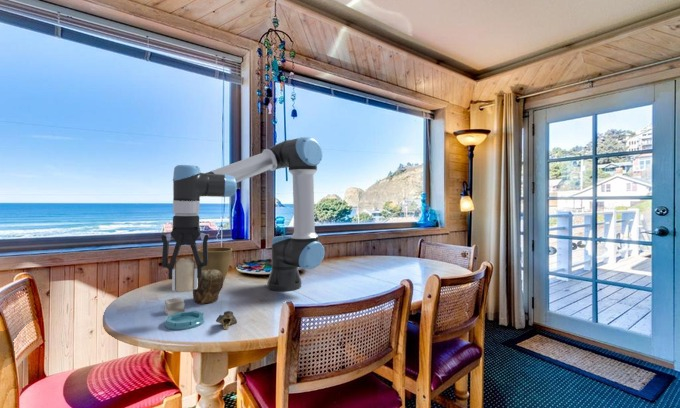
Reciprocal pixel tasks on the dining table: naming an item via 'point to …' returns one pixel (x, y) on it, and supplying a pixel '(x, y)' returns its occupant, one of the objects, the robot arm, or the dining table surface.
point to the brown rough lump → (208, 286)
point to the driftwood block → (174, 306)
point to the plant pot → (217, 259)
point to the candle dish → (184, 320)
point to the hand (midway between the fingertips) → (185, 288)
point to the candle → (185, 275)
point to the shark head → (226, 319)
